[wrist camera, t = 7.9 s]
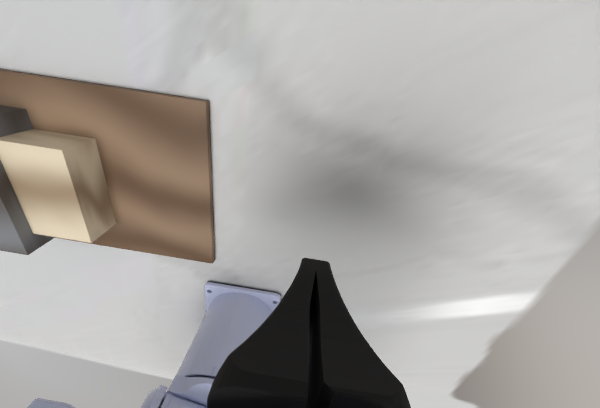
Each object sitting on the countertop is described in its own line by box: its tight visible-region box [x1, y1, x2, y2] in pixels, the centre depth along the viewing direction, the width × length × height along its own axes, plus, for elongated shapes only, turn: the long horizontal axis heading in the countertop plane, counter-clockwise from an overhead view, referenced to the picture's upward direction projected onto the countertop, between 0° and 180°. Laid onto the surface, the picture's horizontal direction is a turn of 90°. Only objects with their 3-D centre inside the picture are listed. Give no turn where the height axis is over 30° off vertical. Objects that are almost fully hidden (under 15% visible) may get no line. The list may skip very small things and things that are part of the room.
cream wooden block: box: [0, 129, 116, 243], centre depth 22 cm, size 8×5×3 cm, turn 173°
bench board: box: [0, 69, 215, 263], centre depth 21 cm, size 15×17×5 cm
